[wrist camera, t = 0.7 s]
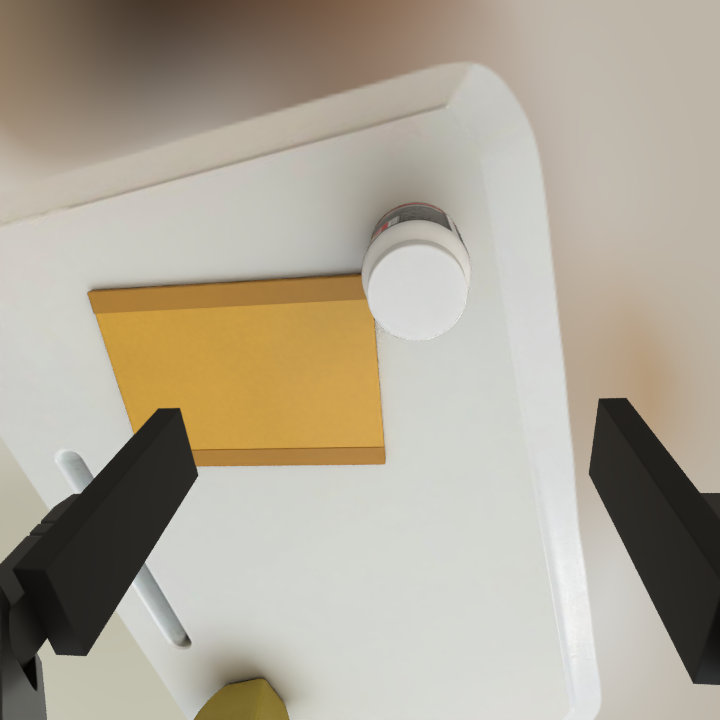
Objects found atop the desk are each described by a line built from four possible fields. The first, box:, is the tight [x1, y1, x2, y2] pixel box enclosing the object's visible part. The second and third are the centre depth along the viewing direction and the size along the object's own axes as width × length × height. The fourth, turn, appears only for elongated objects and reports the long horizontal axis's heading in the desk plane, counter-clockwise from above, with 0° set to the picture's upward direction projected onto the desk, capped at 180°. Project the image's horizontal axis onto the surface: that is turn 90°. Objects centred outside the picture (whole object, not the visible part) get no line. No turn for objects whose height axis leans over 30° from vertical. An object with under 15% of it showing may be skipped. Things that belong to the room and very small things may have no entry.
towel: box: [87, 274, 385, 466], centre depth 37 cm, size 15×20×1 cm
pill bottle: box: [362, 203, 472, 341], centre depth 27 cm, size 6×6×10 cm
